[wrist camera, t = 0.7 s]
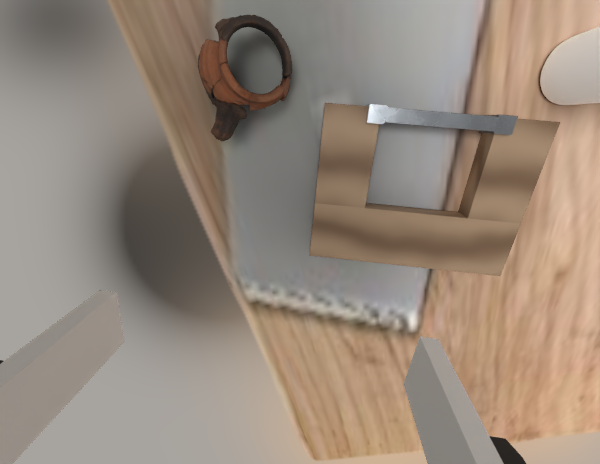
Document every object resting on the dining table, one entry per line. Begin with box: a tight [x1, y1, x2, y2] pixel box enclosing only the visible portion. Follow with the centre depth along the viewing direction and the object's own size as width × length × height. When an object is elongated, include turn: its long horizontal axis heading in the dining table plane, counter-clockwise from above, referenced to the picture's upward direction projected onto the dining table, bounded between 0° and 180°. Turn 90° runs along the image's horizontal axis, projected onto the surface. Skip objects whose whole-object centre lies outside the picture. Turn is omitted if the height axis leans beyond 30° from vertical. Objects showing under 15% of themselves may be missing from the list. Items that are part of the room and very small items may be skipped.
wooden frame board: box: [310, 103, 560, 276], centre depth 34 cm, size 18×24×2 cm
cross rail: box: [366, 104, 518, 135], centre depth 30 cm, size 2×15×3 cm, turn 84°
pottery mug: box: [198, 15, 292, 141], centre depth 30 cm, size 12×9×8 cm
